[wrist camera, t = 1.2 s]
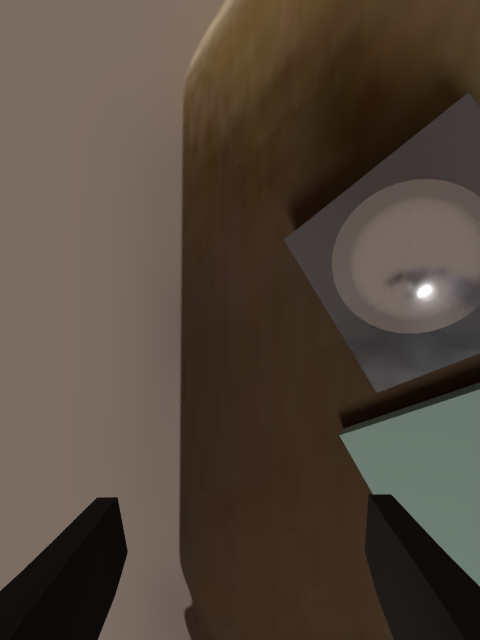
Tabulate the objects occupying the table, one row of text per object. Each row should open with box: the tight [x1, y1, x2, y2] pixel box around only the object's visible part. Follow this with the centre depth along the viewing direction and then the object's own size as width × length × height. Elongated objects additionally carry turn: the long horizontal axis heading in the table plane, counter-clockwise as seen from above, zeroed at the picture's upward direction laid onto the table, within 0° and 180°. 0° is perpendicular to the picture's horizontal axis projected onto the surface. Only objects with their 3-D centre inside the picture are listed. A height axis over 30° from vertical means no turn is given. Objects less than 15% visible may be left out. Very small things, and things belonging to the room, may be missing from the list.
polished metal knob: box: [332, 179, 480, 334], centre depth 14 cm, size 5×5×8 cm
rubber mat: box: [339, 383, 480, 586], centre depth 17 cm, size 10×10×1 cm
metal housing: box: [284, 92, 480, 392], centre depth 16 cm, size 10×10×2 cm
